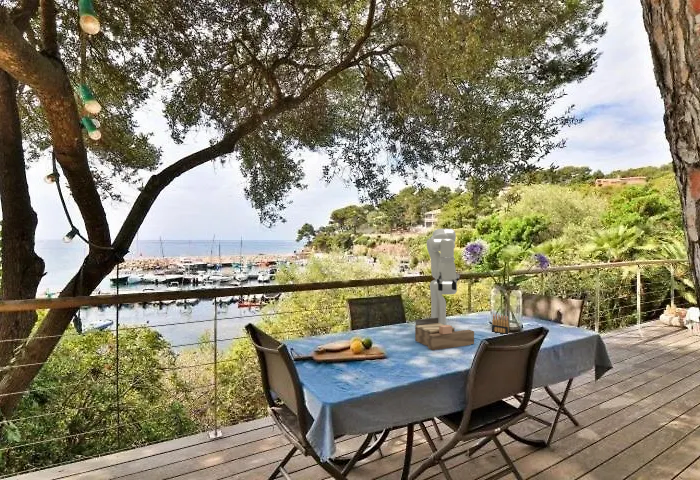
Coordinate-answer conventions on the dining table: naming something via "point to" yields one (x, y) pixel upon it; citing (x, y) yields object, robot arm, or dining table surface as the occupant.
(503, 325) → the ammunition clip
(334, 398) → the dining table surface
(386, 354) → the dining table surface
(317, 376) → the dining table surface
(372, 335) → the dining table surface
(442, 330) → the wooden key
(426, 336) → the toolbox
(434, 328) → the toolbox lid
